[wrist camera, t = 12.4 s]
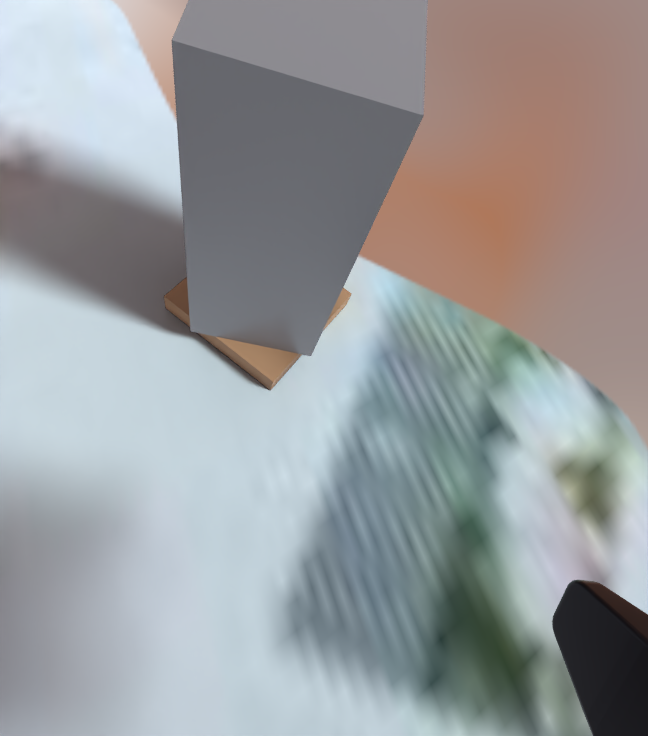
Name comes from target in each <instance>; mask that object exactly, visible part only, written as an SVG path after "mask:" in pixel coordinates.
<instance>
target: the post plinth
mask: <svg viewBox="0 0 648 736" xmlns="http://www.w3.org/2000/svg"><path fill="white" fill-rule="evenodd" d="M350 296H351V293H350V292H348V291H347V290H346V289H344V288H343V289H342V291H341V293H340V295H339V297H338V299H337V301H336V304H335V306H334V308H333V310H332V312H331V314H330V316H329V318H328V321H327V323H326V325H325V327H324V329H325V328H326V327H327V326H328V325H329V324H330V322H331V321H332V320H333V319H334V318H335V317H336V316H337V315H338V313H339V312H340V311H341V310H342V309H343V308H344V307H345V305H346V304H347V302H348V300H349V298H350ZM164 300H165V307H166V309H167V310H169V311H170V312H171V313H172V314H174V315H175V316H176V317H178V318H179V319H180V320H181V321H183V322H184V323H185V324H186V325H188V326H189V327H190V316H189V301H188V285H187V277H186V278H185V279H184V280H182V281H181V282H180V283H179V284H178V285H177V286H175V287H174V288H173V289H172V290H171V291H169V292H168V293H167V294H166V295H165V296H164ZM324 329H323V330H324ZM198 334H199V335H200V336H202V337H203V338H204V339H206V340H207V341H208V342H209V343H211V344H212V345H213V346H214V347H216V348H217V349H218V350H220V351H221V352H222V353H223V354H225V355H226V356H227V357H228V358H230V359H231V360H232V361H234V362H235V363H236V364H237V365H239V366H240V367H241V368H242V369H244V370H245V371H246V372H248V373H249V374H250V375H251V376H253V377H254V378H255V379H256V380H258V381H259V382H260V383H262V384H263V385H264V386H265V387H267V388H268V389H269V390H271V389H272V388H273V387H274V386H275V385H276V384H277V382H278V381H279V380H280V379H281V378H282V377H283V376H284V374H285V373H286V372H287V371H288V370H289V369H290V368H291V367H292V365H293V364H294V363H295V362H296V361H297V360H298V359H299V357H300V356H301V355H302V354H297V353H293V352H288V351H283V350H278V349H273V348H268V347H264V346H259V345H254V344H249V343H244V342H239V341H235V340H230V339H225V338H220V337H215V336H211V335H206V334H201V333H198Z"/></svg>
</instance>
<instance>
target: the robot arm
mask: <svg viewBox="0 0 648 736" xmlns="http://www.w3.org/2000/svg"><path fill="white" fill-rule="evenodd" d="M552 622H553V631H554V634H555V637H556V640H557V642H558V645H559V648H560V650H561V653H562V656H563V658H564V661H565V664H566V666H567V669H568V672H569V674H570V677H571V680H572V682H573V685H574V688H575V690H576V693H577V696H578V698H579V701H580V704H581V706H582V709H583V712H584V714H585V717H586V719H587V722H588V724H589V727H590V730H591V732H592V735H593V736H648V614H646V613H644V612H643V611H641V610H640V609H638V608H637V607H635V606H634V605H632V604H631V603H629V602H628V601H626V600H625V599H623V598H622V597H620V596H619V595H617V594H616V593H614V592H613V591H611V590H610V589H608V588H607V587H605V586H603V585H602V584H600V583H597V582H594V581H585V580H574V581H572V582H571V583H569V585H568V586H567V588H566V590H565V593H564V595H563V597H562V599H561V601H560V603H559V605H558V607H557V609H556V611H555V613H554V616H553V621H552Z"/></svg>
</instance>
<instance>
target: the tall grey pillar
mask: <svg viewBox="0 0 648 736" xmlns="http://www.w3.org/2000/svg"><path fill="white" fill-rule="evenodd" d="M427 4H428V0H189V1H188V3H187V5H186V8H185V10H184V13H183V15H182V17H181V20H180V22H179V24H178V26H177V29H176V31H175V34H174V36H173V38H172V52H173V68H174V84H175V99H176V113H177V114H176V115H177V130H178V146H179V161H180V177H181V192H182V208H183V223H184V239H185V254H186V270H187V285H188V301H189V316H190V331H191V332H196V333H201V334H206V335H211V336H215V337H220V338H225V339H230V340H235V341H239V342H244V343H249V344H254V345H259V346H264V347H268V348H273V349H278V350H283V351H288V352H293V353H297V354H302V355H307V356H311V355H312V353H313V350H314V348H315V346H316V344H317V342H318V340H319V338H320V336H321V333H322V331H323V329H324V327H325V325H326V323H327V321H328V318H329V316H330V314H331V312H332V310H333V308H334V306H335V304H336V301H337V299H338V297H339V295H340V293H341V291H342V289H343V286H344V284H345V282H346V280H347V278H348V276H349V274H350V272H351V269H352V267H353V265H354V263H355V261H356V259H357V257H358V254H359V252H360V250H361V248H362V245H363V244H364V242H365V239H366V237H367V235H368V233H369V231H370V229H371V226H372V224H373V222H374V220H375V218H376V216H377V214H378V212H379V210H380V207H381V205H382V203H383V201H384V199H385V197H386V195H387V193H388V190H389V188H390V186H391V184H392V182H393V180H394V178H395V175H396V173H397V171H398V169H399V167H400V165H401V163H402V160H403V158H404V156H405V154H406V152H407V150H408V148H409V146H410V144H411V141H412V139H413V137H414V135H415V133H416V131H417V128H418V126H419V124H420V122H421V120H422V118H423V115H424V90H425V62H426V32H427Z"/></svg>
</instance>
